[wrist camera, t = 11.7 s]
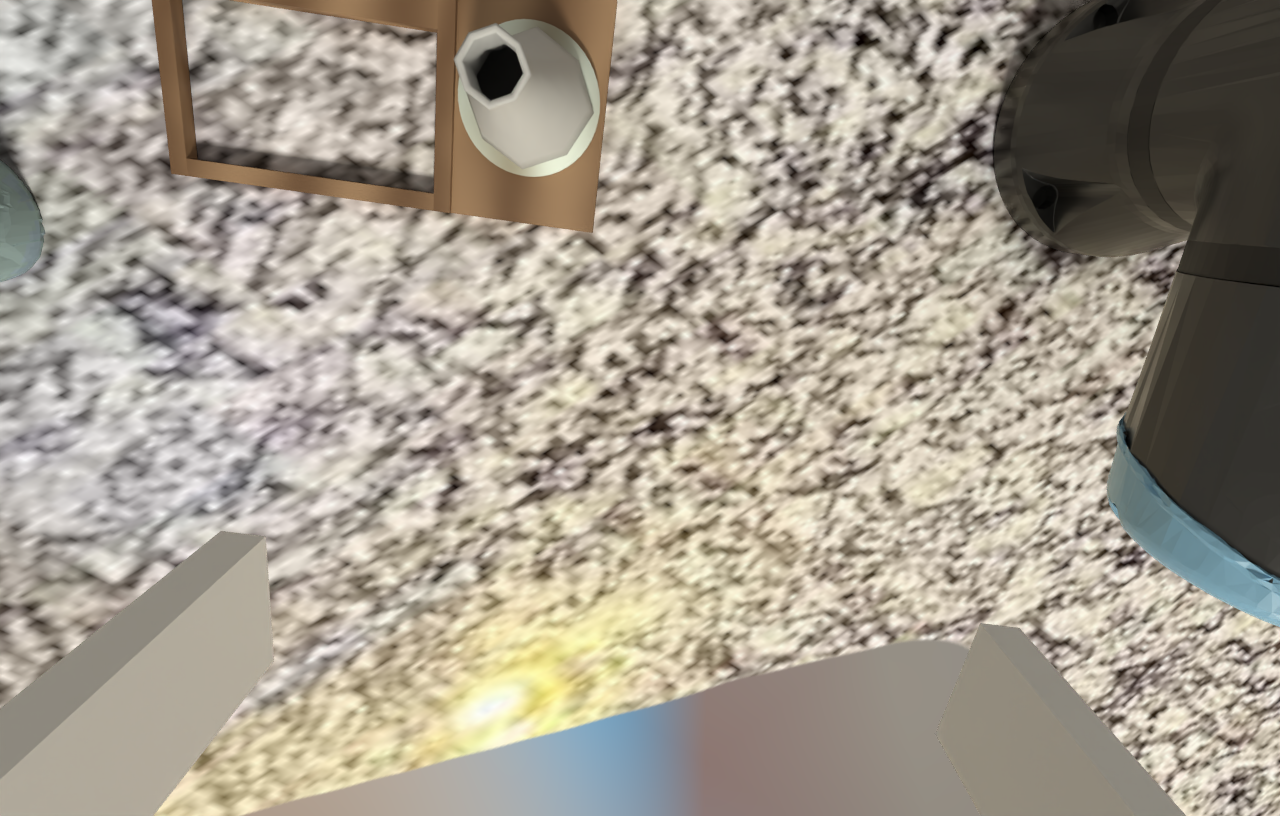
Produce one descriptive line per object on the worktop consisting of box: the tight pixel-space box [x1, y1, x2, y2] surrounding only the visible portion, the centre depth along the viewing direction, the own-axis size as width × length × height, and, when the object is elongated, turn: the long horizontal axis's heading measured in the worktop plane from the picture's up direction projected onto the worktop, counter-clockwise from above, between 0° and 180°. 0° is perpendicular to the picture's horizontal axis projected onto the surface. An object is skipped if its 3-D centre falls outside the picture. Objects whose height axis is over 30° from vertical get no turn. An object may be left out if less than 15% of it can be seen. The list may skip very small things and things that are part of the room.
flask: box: [454, 23, 594, 169], centre depth 31 cm, size 7×7×10 cm
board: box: [152, 0, 617, 233], centre depth 36 cm, size 26×13×1 cm, turn 82°
